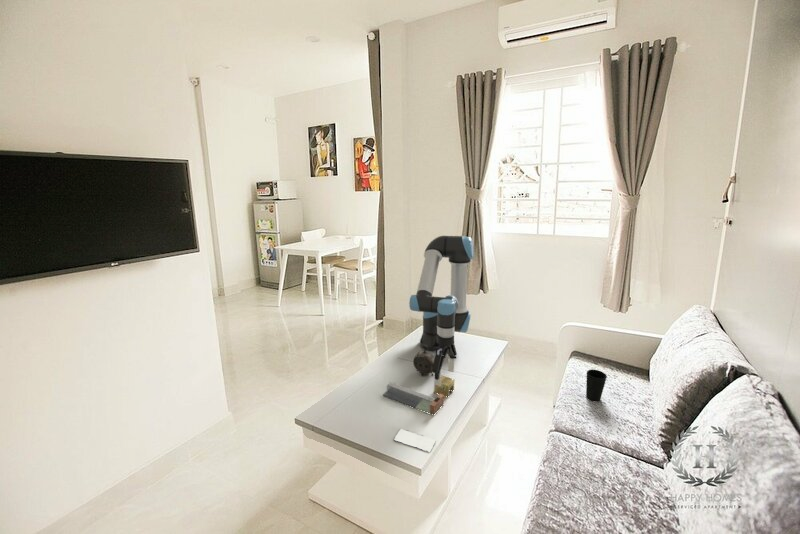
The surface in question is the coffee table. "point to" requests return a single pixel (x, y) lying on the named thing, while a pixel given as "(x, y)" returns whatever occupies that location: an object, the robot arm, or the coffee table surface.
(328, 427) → the coffee table surface
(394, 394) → the rail
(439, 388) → the clip
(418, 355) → the alarm clock
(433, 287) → the robot arm
